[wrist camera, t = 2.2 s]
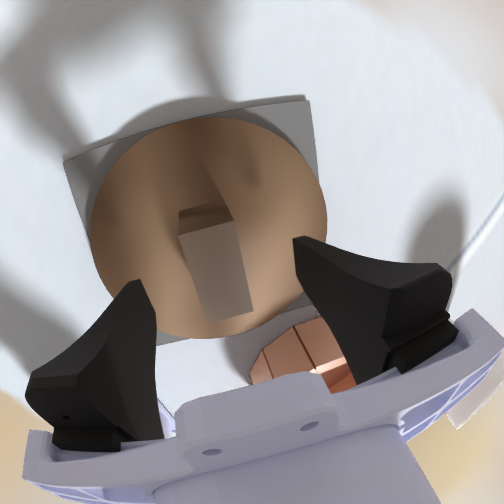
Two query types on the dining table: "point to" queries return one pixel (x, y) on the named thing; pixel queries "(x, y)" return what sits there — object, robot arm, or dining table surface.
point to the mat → (266, 116)
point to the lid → (207, 224)
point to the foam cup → (477, 395)
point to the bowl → (305, 356)
